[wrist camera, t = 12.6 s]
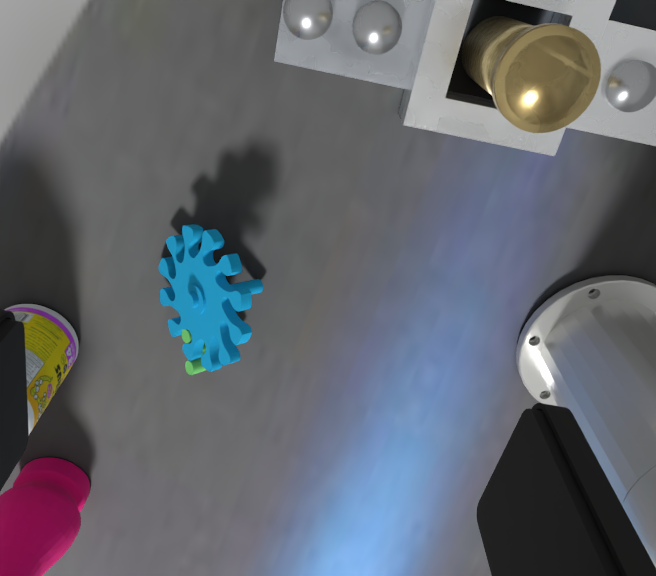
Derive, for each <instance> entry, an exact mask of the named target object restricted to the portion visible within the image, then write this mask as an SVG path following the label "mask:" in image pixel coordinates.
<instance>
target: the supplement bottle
mask: <svg viewBox="0 0 656 576" xmlns="http://www.w3.org/2000/svg"><path fill="white" fill-rule="evenodd" d="M4 310H7V311H11V312H13V314H14V316H15V320H16V321H21V322H23V324H24V329H25V353H26V378H27V404H28V430H29V434H30V433H31V431H32V430H33V428H34V426H35V425H36V423H37V421H38V420H39V418H40V416H41V415H42V413H43V412H44V410H45V409H46V407H47V405H48V404H49V402H50V401H51V399H52V397H53V396H54V394H55V393H56V391H57V390H58V388H59V386H60V385H61V383H62V382H63V380H64V378H65V377H66V375H67V374H68V372H69V370H70V369H71V367H72V365H73V364H74V362H75V360H76V358H77V355H78V349H79V344H78V338H77V335H76V333H75V331H74V329H73V327H72V326H71V325H70V323H69V322H68V321H67V320H66V319H65V318H64V317H63V316H61V315H60V314H58V313H57V312H55V311H53V310H51V309H49V308H46V307H43V306H40V305H36V304H18V305H14V306H11V307H8V308H6V309H4ZM29 434H28V436H29Z"/></svg>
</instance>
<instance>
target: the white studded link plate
mask: <svg viewBox="0 0 656 576" xmlns="http://www.w3.org/2000/svg"><path fill="white" fill-rule="evenodd" d="M506 1H511V2H515V3H519V4H524V5H528V6H532V7H537V8H541V9H545V10H550V11H554V15H553V18H552V20H551V23H556V24H562V25H565V26H569V27H572V28H575V29H577V30H579V31H581V32H582V33H584V34H585V35H586V36H587V37H588V38H589V39H590V40H591V41H592V42H593V44H594V45H595V47H596V49H597V51H598V54H599V57H600V63H601V77H600V82H599V86H598V89H597V92H596V94H595V96H594V98H593V100H592V102H591V103H590V105H589V106H588V108H587V109H586V110H585V111H584V112H583V113H582V114H581V115H580V116H579V117H578V118H577V119H576V120H575V121H573V122H572V123H570V124H569V125H567V126H565V127H563V128H561V129H558V130H556V131H552V132H547V133H531V132H527V131H523V130H521V129H519V128H517V127H516V126H514V125H513V124H511V123H510V122H509V121H508V120H507V119H506V118H505V117H503V116H502V114H501V113H500V112H499V111H498V109H497V107H496V105H495V103H494V101H493V100H490V99H485V98H481V97H476V96H471V95H467V94H462V93H457V92H452V91H448V86H449V83H450V79H451V76H452V72H453V69H454V66H455V62H456V59H457V55H458V52H459V48H460V45H461V41H462V38H463V34H464V31H465V28H466V24H467V21H468V17H469V14H470V10H471V7H472V3H473V0H283V5H282V12H281V18H280V25H279V32H278V39H277V45H276V52H275V59H274V61H276V62H281V63H285V64H290V65H295V66H300V67H304V68H309V69H314V70H318V71H323V72H328V73H333V74H337V75H342V76H347V77H351V78H356V79H361V80H366V81H370V82H375V83H380V84H384V85H389V86H394V87H399V88H403V89H404V92H403V96H402V100H401V104H400V107H399V111H398V115H399V117H400V119H401V121H402V124H403V125H406V126H411V127H415V128H420V129H425V130H430V131H435V132H440V133H445V134H449V135H454V136H459V137H464V138H469V139H474V140H479V141H483V142H488V143H493V144H498V145H503V146H508V147H513V148H517V149H522V150H527V151H532V152H537V153H542V154H547V155H551V156H555V154H556V151H557V149H558V146H559V144H560V141H561V139H562V136H563V134H564V131H565V129H566V127H567V128H572V129H577V130H581V131H586V132H591V133H596V134H600V135H605V136H610V137H615V138H619V139H624V140H629V141H633V142H638V143H643V144H648V145H652V146H656V31H654V30H650V29H646V28H642V27H637V26H633V25H629V24H624V23H620V22H616V21H611V20H609V17H610V15H611V12H612V10H613V7H614V5H615V2H616V0H506Z"/></svg>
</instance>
